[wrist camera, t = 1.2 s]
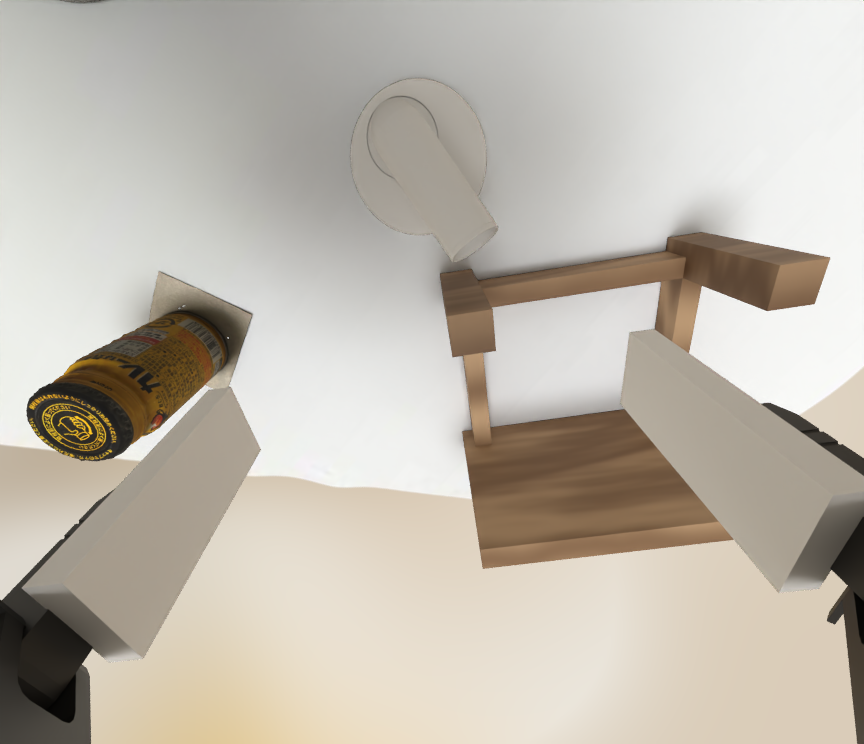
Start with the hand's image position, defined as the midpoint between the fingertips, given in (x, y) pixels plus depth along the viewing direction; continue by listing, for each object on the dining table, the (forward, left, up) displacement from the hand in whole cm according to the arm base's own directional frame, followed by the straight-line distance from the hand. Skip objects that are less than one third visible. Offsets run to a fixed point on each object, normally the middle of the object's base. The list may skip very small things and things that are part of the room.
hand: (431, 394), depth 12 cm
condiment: (+2, -20, -19) cm, 28 cm away
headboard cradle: (+9, +11, -19) cm, 23 cm away
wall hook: (-7, +1, -19) cm, 20 cm away
